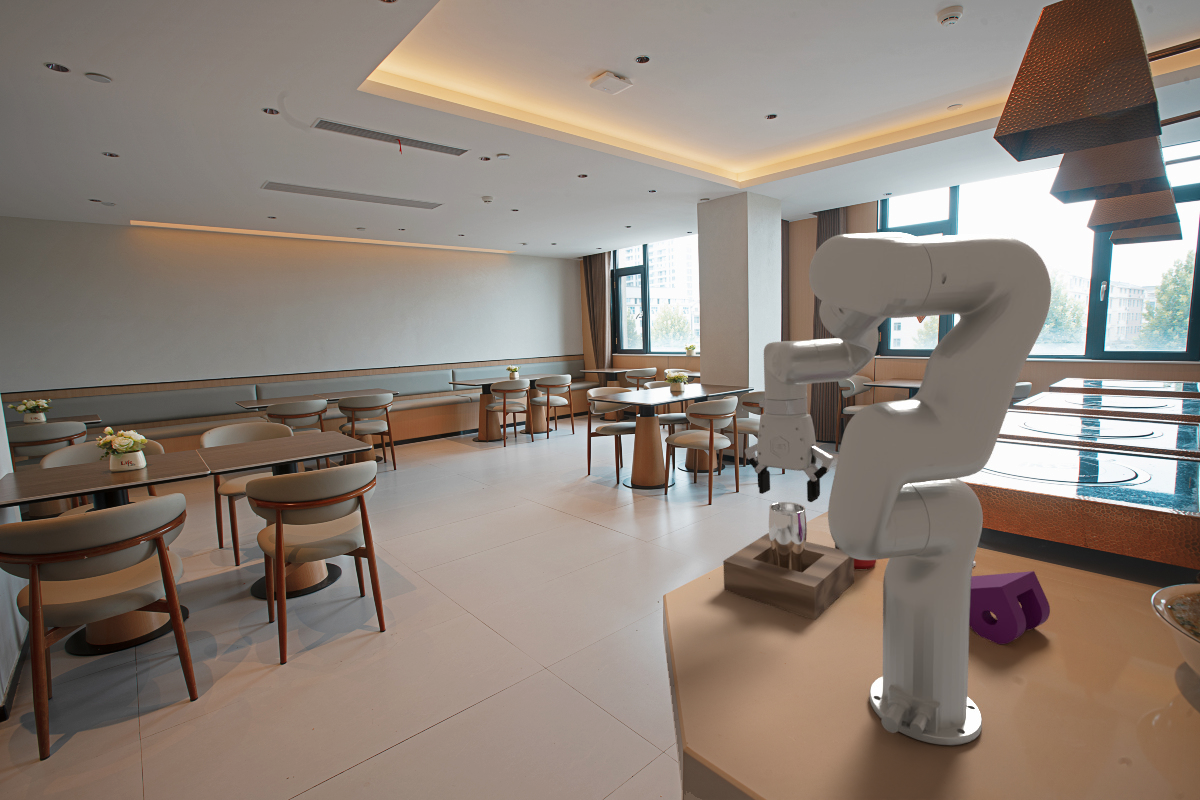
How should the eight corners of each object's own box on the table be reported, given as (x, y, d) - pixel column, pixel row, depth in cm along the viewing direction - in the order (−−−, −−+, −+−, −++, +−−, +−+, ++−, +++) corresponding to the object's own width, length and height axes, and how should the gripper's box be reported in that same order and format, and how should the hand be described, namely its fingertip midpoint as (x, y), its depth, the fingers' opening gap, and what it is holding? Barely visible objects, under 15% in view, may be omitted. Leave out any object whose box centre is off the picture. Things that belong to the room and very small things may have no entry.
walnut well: (814, 619, 95) (814, 587, 94) (724, 589, 108) (723, 560, 107) (853, 581, 108) (853, 552, 107) (768, 559, 120) (768, 532, 120)
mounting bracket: (920, 642, 97) (1026, 644, 82) (900, 593, 99) (1001, 586, 84) (952, 626, 101) (1059, 625, 86) (933, 579, 104) (1034, 571, 88)
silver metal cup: (763, 583, 107) (761, 509, 105) (779, 570, 112) (777, 499, 110) (798, 593, 103) (797, 515, 101) (813, 579, 108) (812, 505, 106)
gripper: (734, 407, 107) (737, 493, 109) (823, 412, 95) (825, 509, 97) (754, 402, 112) (756, 484, 114) (840, 406, 100) (841, 498, 102)
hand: (788, 495), depth 105 cm, fingers open, 9 cm apart
